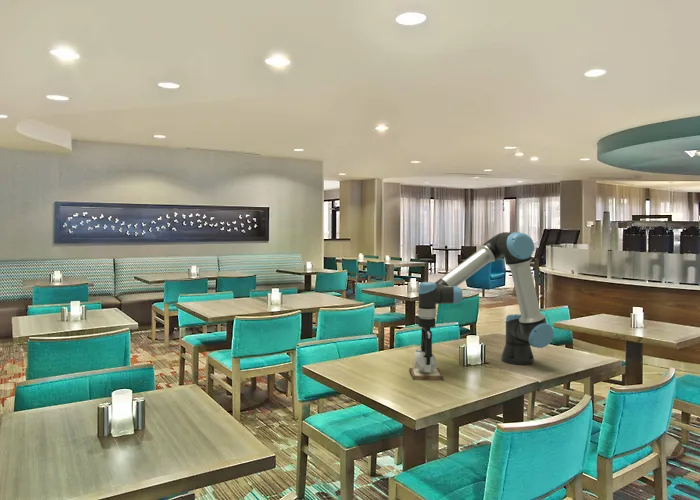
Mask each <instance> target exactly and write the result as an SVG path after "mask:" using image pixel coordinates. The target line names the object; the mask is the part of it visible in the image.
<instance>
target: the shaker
mask: <svg viewBox="0 0 700 500" xmlns="http://www.w3.org/2000/svg"><path fill="white" fill-rule="evenodd" d="M422 352H423V351H421V348H415V351H414V368H418V367H417V364H416V359H417V358H418V357H419V356H420V355H421V354H422Z"/></svg>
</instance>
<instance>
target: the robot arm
mask: <svg viewBox="0 0 700 500" xmlns="http://www.w3.org/2000/svg"><path fill="white" fill-rule="evenodd" d="M534 252H535V243H534V240H533V239H532V237H531V236H530V235H528V234H526V233H524V232H519V231H516V232H515V231H513V232H504V231H503V232H501V233H500V232H499V233H498V234H496V235H493V236H492V237H491V238H489V239H488V240H487V241H485V242H484V243H482V245H480V249H478V250H477V251H475V252H474V253H473V254H472V255H470V256H468V257H467V258H466V259H465V260H464V261H463V262H460V264H458V265H457V266H455V267H454V268H453V269H452V270H450V271H449V272H448V273H446V274H444V276H442V277H440V278H439V279H438V280H436V281H434V282H433V281H423V282H420V283H419V285H418V292H417V293H418V309H417V310H416V312H417V313H418V314H417V315H418V318H417V325H418V327H420V328H421V339H420V341H421V342H420V349H421V351H423V352H422V353H425V356H423V357H425V359H424V366H425V367H424V372H431V357H432V354H433V332H432V330H431V329H433V328H436V317H437V314H436V313H437V312H436V311H437V305H439V304H442V305H443V304H447V305H448V304H450V305H451V304H453V305H455V304H460V303H461V302H462V301H463V290H462V288H461V287H460V285H461V284H462V283H464V282H465V281H466V280H467V279H469V278H470V277H472V276H473V275H475V274H476V273H477V272H478V271H479V270H481V269H482V268H483V267H485V266H486V265H488V264H489V263H490V262H491V263H493V262H495V261H496V260H498V259H502V258H504V262H505V265H507V266H508V267H509V268H510V273H511V276H512V280H513V281H512V282H513V285H514V289H515V294H516V298H517V302H518V307H519V312H520V314H519V313H517V314H508V315H506V318H505V345H504V347H503V351H502V353H501V359H500V360H501V361H502V362H503V363H506V364H511V365H518V366H519V365H520V366H527V365H533V364H534V363H535V356H534V353H533V350H532V347H534V348H538V349H543V348H545V347H546V348H547V346H549V345H550V344H551V342H552V340H553V338H554V329H553V328H552V326H551V325H550V324H549V323H547V321H546V316H545V315H544V314H543V313H542V312H541V308H540V305H539V300H538V297H537V296H538V295H537V291H536V287H535V283H534V278H533V274H532V269H531V264H530V263H531V262H532V260H533V258H532V255H533V253H534Z"/></svg>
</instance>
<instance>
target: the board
mask: <svg viewBox="0 0 700 500" xmlns="http://www.w3.org/2000/svg"><path fill="white" fill-rule="evenodd" d="M408 368H409V369H408V371H409V374H410V376H411V379H412V380H413V381H417V380H418V381H425V380H427V381H444V375H443V373H442V371H441V370H440V368H438V367H436V368H435V369H434V370H433V372H432V373H431V374H429V373H423V372H419V369H418V367H408Z"/></svg>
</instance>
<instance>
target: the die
mask: <svg viewBox="0 0 700 500" xmlns="http://www.w3.org/2000/svg"><path fill="white" fill-rule="evenodd" d="M423 356H425V353H422V354H421V355H420V356H419V357H418V358H417V359H416V364H417V367H416V368H418V369H419V372H423V373H429V374H431V373H432V372H433V370H434V369H435V368H438V362H437V360H436V357H435V354H434V353H432V357H431V372H424V367H425V366H424V359H425V357H423Z"/></svg>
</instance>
